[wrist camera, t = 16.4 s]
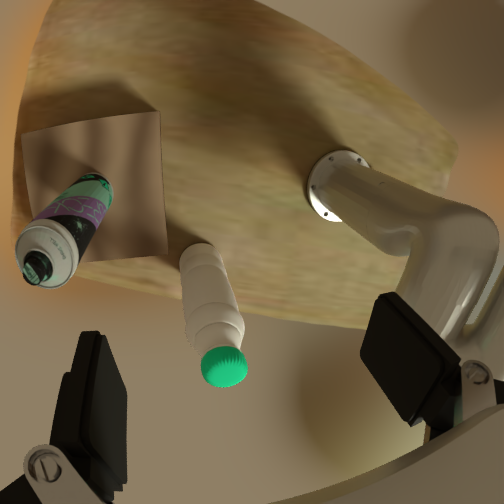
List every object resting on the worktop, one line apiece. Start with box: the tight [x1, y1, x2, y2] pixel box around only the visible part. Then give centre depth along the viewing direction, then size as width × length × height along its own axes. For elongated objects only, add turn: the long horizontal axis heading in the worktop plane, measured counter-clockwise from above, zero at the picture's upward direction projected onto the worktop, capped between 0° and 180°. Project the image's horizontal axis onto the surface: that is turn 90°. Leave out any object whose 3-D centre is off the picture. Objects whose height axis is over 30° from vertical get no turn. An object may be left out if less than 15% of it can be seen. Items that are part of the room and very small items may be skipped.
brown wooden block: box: [21, 111, 169, 263], centre depth 37 cm, size 19×19×8 cm
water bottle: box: [179, 243, 248, 388], centre depth 40 cm, size 7×7×25 cm
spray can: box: [15, 173, 114, 289], centre depth 25 cm, size 6×6×20 cm
